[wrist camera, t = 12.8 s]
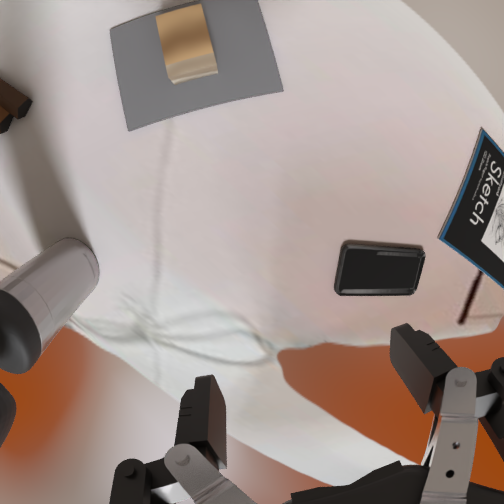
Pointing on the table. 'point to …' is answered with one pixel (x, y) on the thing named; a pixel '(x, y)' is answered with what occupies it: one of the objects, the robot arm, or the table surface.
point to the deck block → (186, 44)
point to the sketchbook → (480, 212)
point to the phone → (378, 270)
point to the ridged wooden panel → (11, 105)
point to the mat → (202, 89)
